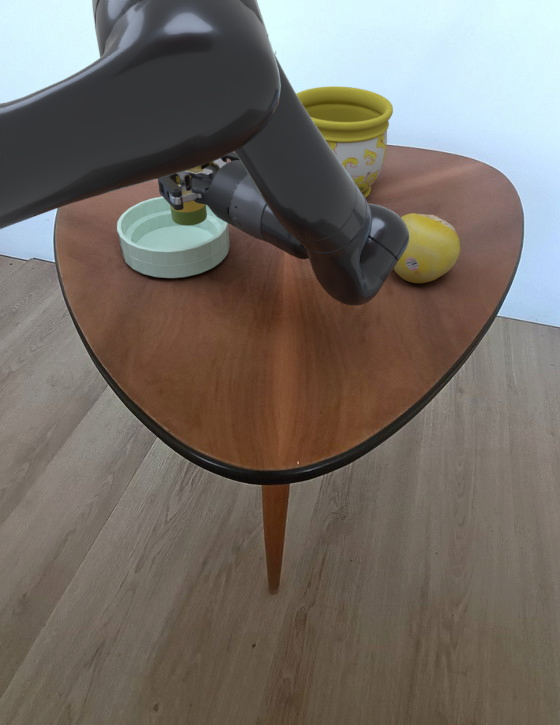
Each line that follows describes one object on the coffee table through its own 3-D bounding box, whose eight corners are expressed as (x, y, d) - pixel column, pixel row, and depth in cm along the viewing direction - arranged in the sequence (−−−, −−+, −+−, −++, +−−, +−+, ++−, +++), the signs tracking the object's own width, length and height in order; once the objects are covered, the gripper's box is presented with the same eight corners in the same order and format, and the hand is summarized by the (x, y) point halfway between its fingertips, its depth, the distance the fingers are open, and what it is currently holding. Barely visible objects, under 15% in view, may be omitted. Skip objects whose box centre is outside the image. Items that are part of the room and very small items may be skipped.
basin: (102, 268, 87) (94, 237, 83) (157, 216, 98) (152, 187, 95) (201, 292, 83) (197, 261, 79) (245, 235, 94) (244, 206, 91)
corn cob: (169, 225, 77) (152, 123, 68) (175, 208, 81) (160, 108, 71) (204, 226, 77) (193, 123, 68) (209, 208, 81) (199, 109, 71)
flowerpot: (269, 183, 108) (269, 95, 97) (345, 164, 115) (354, 80, 103) (316, 225, 97) (323, 131, 86) (399, 202, 103) (415, 112, 92)
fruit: (451, 298, 82) (468, 240, 76) (379, 288, 84) (389, 230, 77) (451, 261, 90) (467, 204, 83) (385, 252, 91) (394, 196, 84)
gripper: (297, 154, 68) (208, 118, 76) (206, 193, 60) (120, 148, 69) (296, 210, 73) (213, 170, 82) (212, 252, 66) (131, 203, 74)
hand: (170, 160), depth 75 cm, fingers closed on corn cob, 4 cm apart
